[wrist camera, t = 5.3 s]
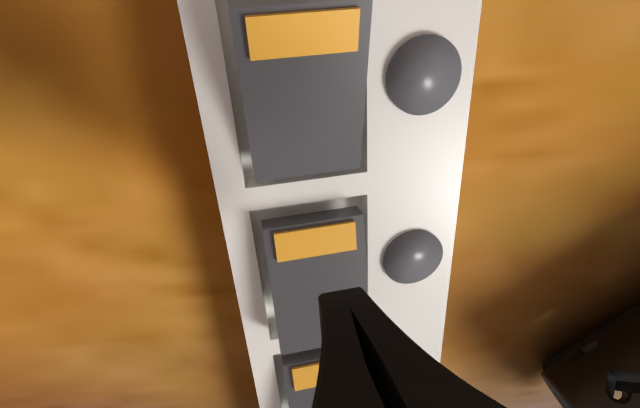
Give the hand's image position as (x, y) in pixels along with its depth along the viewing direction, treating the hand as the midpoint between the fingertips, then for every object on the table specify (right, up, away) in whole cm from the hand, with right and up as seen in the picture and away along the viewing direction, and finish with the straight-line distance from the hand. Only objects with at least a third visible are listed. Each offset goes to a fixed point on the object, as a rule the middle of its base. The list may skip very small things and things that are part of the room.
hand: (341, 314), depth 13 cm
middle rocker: (-1, 0, +5) cm, 5 cm away
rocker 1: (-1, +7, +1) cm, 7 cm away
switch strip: (0, +2, +8) cm, 8 cm away
